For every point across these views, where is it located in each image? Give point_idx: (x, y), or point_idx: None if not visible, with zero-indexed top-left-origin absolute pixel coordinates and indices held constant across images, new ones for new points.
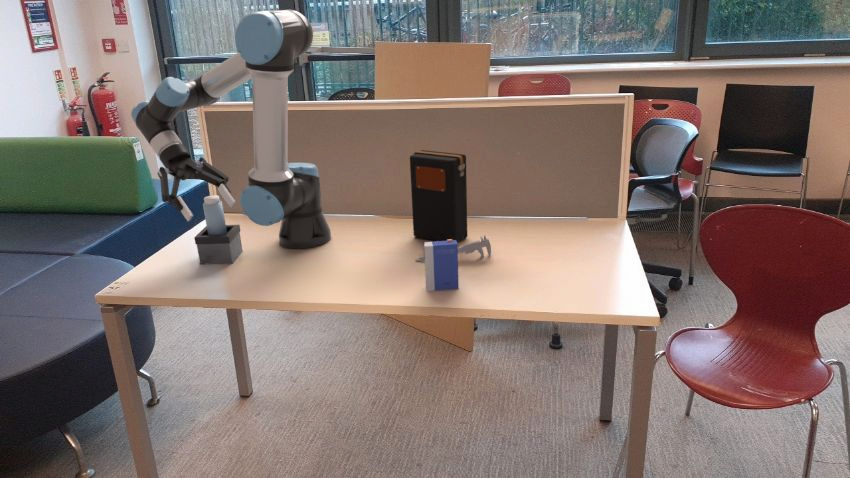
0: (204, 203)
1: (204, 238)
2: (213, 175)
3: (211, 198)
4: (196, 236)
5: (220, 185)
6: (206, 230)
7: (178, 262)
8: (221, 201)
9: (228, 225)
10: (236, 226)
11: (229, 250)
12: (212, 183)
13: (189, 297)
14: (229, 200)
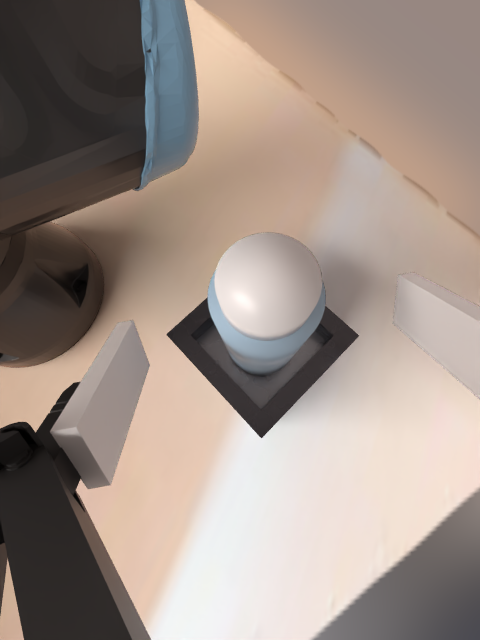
0: (306, 326)
1: (327, 310)
2: (18, 569)
3: (279, 255)
4: (348, 338)
5: (85, 432)
6: (287, 383)
7: (372, 424)
8: (211, 281)
9: (199, 360)
10: (185, 323)
11: None
12: (102, 544)
13: (416, 194)
14: (132, 353)
